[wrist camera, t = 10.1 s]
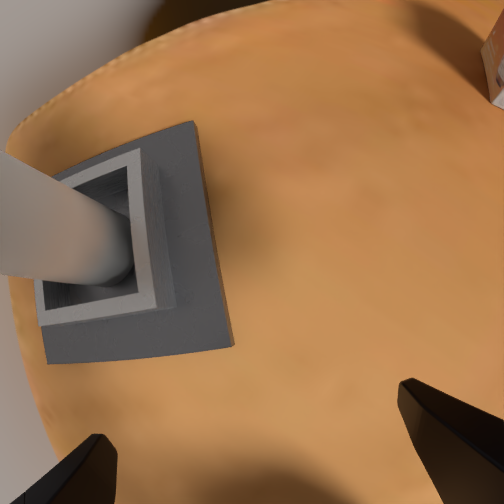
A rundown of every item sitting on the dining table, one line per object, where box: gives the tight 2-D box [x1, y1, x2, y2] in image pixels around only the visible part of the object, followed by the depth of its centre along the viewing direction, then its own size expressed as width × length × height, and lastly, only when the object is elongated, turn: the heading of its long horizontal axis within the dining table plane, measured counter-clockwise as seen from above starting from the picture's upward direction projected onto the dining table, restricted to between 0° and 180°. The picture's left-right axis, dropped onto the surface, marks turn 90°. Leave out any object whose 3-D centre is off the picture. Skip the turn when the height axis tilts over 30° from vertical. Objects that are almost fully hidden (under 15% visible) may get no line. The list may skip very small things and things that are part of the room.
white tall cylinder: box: [0, 150, 134, 287], centre depth 15 cm, size 6×6×12 cm
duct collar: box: [34, 121, 235, 364], centre depth 20 cm, size 16×16×4 cm
